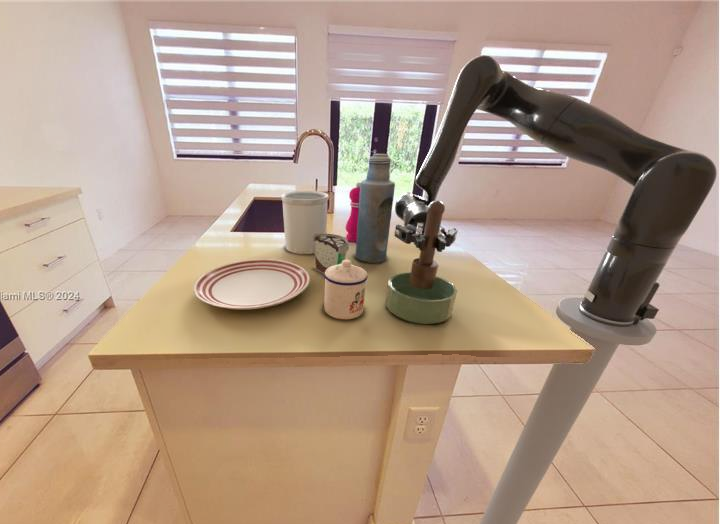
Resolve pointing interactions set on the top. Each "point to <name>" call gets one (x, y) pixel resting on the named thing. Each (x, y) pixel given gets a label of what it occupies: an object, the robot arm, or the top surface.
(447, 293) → the bowl
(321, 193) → the utensil holder
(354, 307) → the teacup with lid
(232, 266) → the dinner plate
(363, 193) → the bottle
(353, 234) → the pepper mill
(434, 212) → the wooden pestle
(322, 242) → the slice of cake
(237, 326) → the top surface
